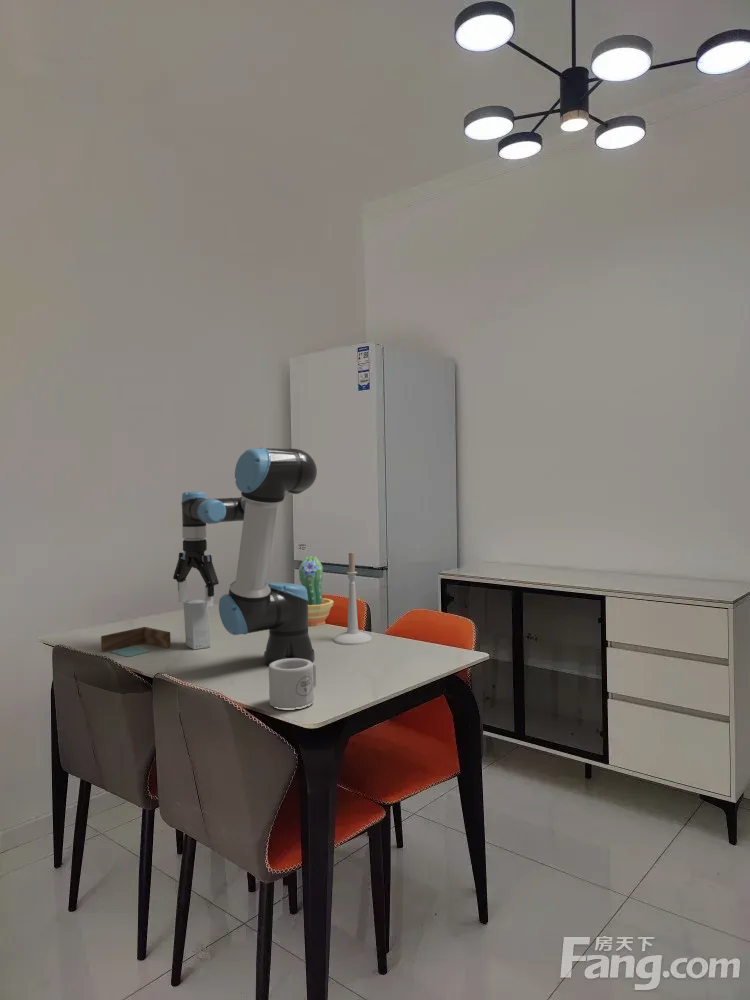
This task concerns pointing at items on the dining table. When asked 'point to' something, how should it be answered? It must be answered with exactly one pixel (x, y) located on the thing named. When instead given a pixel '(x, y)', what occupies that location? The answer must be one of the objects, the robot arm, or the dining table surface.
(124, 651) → the pad
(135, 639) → the wooden corner bracket
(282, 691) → the mug
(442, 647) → the dining table surface
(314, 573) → the potted cactus
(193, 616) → the skincare box
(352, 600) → the candlestick
